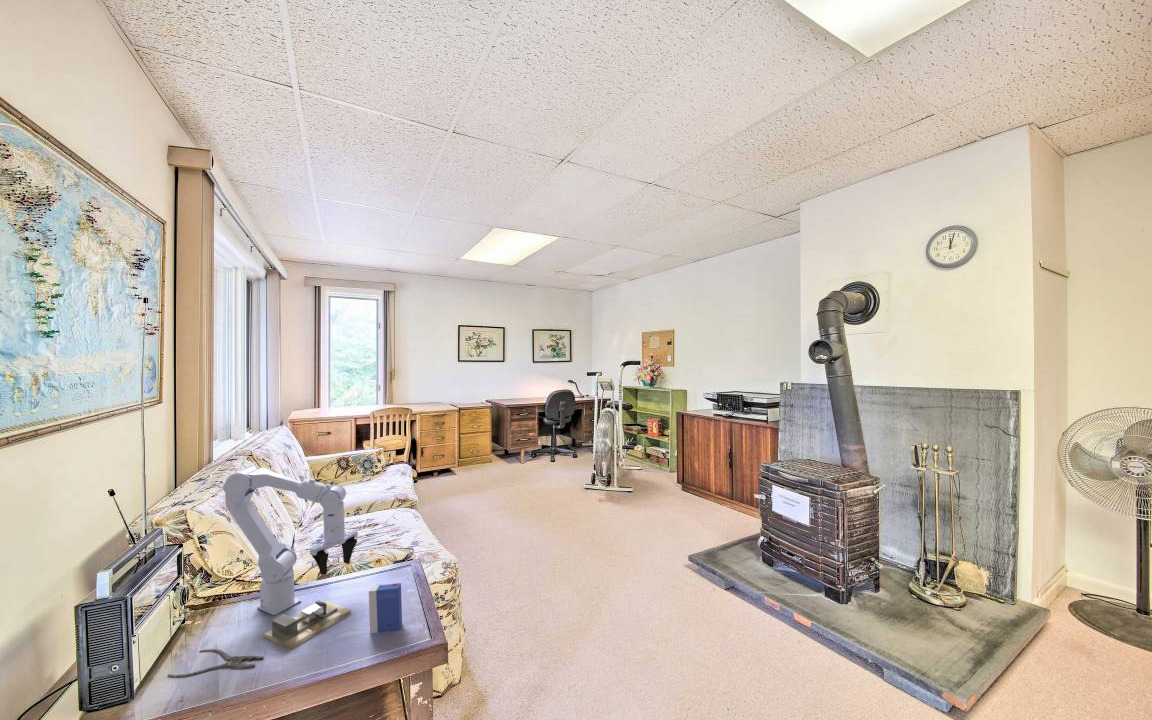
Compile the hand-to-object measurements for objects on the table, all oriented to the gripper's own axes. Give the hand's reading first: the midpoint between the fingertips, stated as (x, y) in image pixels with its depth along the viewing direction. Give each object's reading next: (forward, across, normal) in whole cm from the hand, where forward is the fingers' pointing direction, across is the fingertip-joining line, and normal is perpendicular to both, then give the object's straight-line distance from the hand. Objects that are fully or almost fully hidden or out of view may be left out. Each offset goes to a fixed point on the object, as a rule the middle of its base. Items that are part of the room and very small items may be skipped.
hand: (335, 568), depth 133 cm
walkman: (+10, -4, -28) cm, 30 cm away
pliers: (+10, -30, 0) cm, 31 cm away
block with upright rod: (+8, -11, -7) cm, 15 cm away
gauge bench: (+9, -12, -6) cm, 16 cm away
